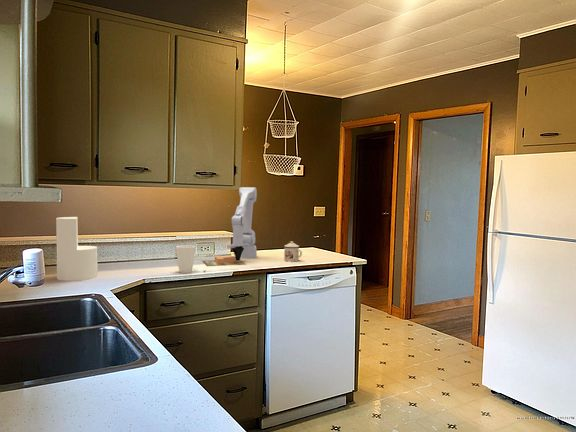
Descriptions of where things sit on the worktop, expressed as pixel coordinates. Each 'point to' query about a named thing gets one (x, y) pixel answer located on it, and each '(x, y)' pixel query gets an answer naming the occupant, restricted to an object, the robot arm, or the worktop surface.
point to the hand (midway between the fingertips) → (237, 260)
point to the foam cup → (185, 258)
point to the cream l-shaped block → (73, 253)
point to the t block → (224, 259)
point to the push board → (213, 263)
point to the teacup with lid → (292, 252)
